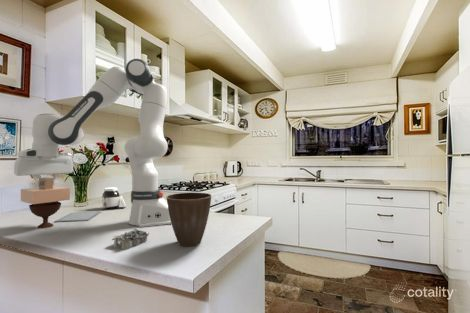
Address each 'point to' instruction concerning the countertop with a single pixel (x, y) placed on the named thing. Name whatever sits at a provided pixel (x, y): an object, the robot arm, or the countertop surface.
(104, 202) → the spread jar
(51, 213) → the ice cream bowl
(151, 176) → the robot arm
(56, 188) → the cover
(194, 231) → the plant pot
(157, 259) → the countertop surface
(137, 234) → the egg carton
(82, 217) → the mat
